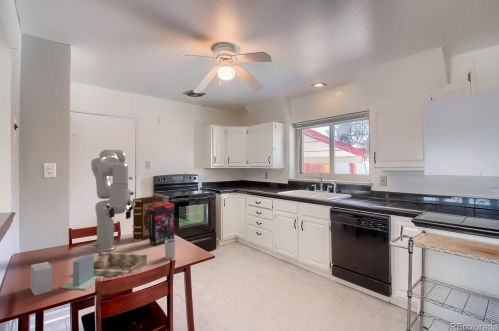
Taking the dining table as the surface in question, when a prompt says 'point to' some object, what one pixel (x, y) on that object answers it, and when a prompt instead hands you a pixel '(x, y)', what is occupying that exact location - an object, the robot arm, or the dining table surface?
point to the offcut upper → (100, 261)
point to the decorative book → (143, 216)
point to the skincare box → (41, 278)
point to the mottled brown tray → (123, 263)
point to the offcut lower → (105, 266)
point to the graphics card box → (161, 223)
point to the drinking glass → (170, 248)
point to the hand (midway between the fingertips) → (120, 217)
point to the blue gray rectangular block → (83, 270)
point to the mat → (83, 286)
